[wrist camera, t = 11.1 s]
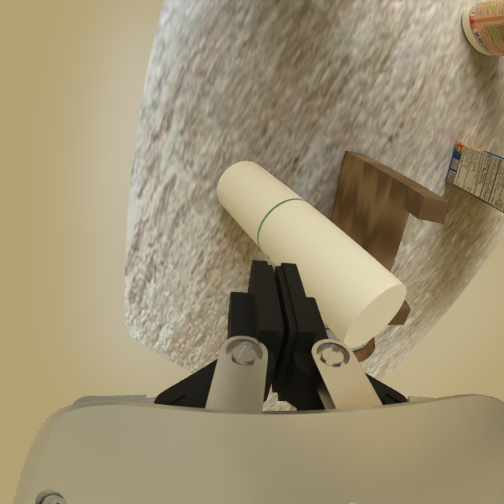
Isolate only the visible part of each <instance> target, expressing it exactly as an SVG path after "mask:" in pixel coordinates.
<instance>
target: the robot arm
mask: <svg viewBox="0 0 504 504" xmlns="http://www.w3.org/2000/svg"><path fill="white" fill-rule="evenodd" d="M271 384H272V391H273V392H277V393H278V401H287V402H288V403H290V404H291V405H292V406H291V411H262V409H263V403H264V402H265V401H266V400H267V397H268V393H269V390H270V386H271ZM13 504H504V402H503V401H501V400H499V399H497V398H494V397H490V396H485V395H477V394H468V395H467V394H466V395H455V396H447V397H441V398H427V397H413V396H409V397H408V399H406V398H405V397H404V396H403V395H402V394H400V393H399V392H397V391H395V390H394V389H392V388H390V387H388V386H387V385H385V384H383V383H381V382H380V381H378V380H376V379H375V378H373V377H371V376H370V375H368V374H366V373H365V372H364V371H363V369H362V367H361V365H360V364H359V362H358V360H357V358H356V357H355V355H354V353H353V352H352V350H351V349H350V348H349V347H348V346H347V345H345V344H344V343H342V342H340V341H337V340H333V339H328V335H327V332H326V329H325V326H324V323H323V320H322V317H321V314H320V311H319V308H318V305H317V302H316V300H315V298H314V297H306V294H305V290H304V287H303V284H302V281H301V278H300V274H299V271H298V268H297V265H296V264H294V263H281V265H280V266H276V267H275V271H274V272H273V266H272V265H268V263H267V261H258V260H253V261H252V266H251V273H250V280H249V287H248V293H242V292H231V295H230V304H229V314H228V337H227V340H226V341H225V342H224V343H223V344H222V346H221V349H220V353H219V357H218V359H217V360H215V361H213V362H212V363H210V364H209V365H207V366H205V367H204V368H202V369H200V370H199V371H197V372H195V373H194V374H192V375H190V376H189V377H187V378H185V379H184V380H182V381H180V382H179V383H177V384H175V385H173V386H172V387H170V388H168V389H166V390H165V391H163V392H162V393H160V394H159V395H158V396H157V397H154V398H146V395H127V396H86V397H82V398H80V399H78V400H76V401H75V402H74V404H73V405H70V406H67V407H64V408H61V409H59V410H57V411H56V412H54V413H53V414H52V415H50V416H49V417H48V418H47V420H46V421H45V422H44V423H43V425H42V426H41V428H40V430H39V431H38V433H37V435H36V437H35V439H34V441H33V443H32V446H31V448H30V450H29V452H28V455H27V457H26V460H25V463H24V467H23V469H22V472H21V475H20V479H19V482H18V486H17V489H16V493H15V497H14V501H13Z"/></svg>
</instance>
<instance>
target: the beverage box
mask: <svg viewBox="0 0 504 504" xmlns="http://www.w3.org/2000/svg"><path fill="white" fill-rule="evenodd" d="M446 181H447V182H449V183H451V184H453V185H455V186H457V187H459V188H460V189H462V190H464V191H466V192H468V193H470V194H471V195H473V196H475V197H477V198H478V199H480V200H482V201H484V202H485V203H487V204H489V205H491V206H492V207H494V208H496V209H497V210H499V211H501V212H502V213H504V158H502V157H500V156H497V155H495V154H492V153H489V152H486V151H483V150H481V149H478V148H475V147H472V146H469V145H466V144H463V143H460V142H457V141H456V143H455V147H454V151H453V155H452V159H451V163H450V166H449V170H448V174H447V177H446Z"/></svg>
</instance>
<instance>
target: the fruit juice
mask: <svg viewBox="0 0 504 504" xmlns="http://www.w3.org/2000/svg"><path fill="white" fill-rule="evenodd" d="M462 26H463V30H464V33H465V35H466V37H467V39H468V41H469V42H470V44H471V45H472V46H473V47H474V48H475V49H476V50H477V51H478V52H480V53H482V54H484V55H488V56H504V0H492V1H487V2H482V3H477V4H473V5H470V6H468V7H467V8H466V9H465V10H464V12H463V15H462Z"/></svg>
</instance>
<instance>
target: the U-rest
mask: <svg viewBox="0 0 504 504" xmlns="http://www.w3.org/2000/svg"><path fill="white" fill-rule="evenodd" d="M449 204H450V202H448V201H447V200H445V199H443V198H442V197H440V196H439V195H437V194H435V193H434V192H432V191H430V190H428V189H427V188H425V187H423V186H422V185H420V184H418V183H416V182H415V181H413V180H411V179H409V178H407V177H406V176H404V175H402V174H400V173H398V172H397V171H395V170H393V169H391V168H389V167H387V166H385V165H383V164H381V163H379V162H378V161H376V160H374V159H372V158H370V157H368V156H366V155H362V154H358V153H353V152H348V151H346V152H345V157H344V161H343V166H342V171H341V176H340V181H339V185H338V190H337V194H336V199H335V203H334V208H333V212H332V216H331V222H332V223H333V224H335V225H336V226H337V227H338V228H339V229H341V230H342V231H343V232H344V233H345V234H347V235H348V236H349V237H350V238H351V239H353V240H354V241H355V242H356V243H357V244H358V245H360V246H361V247H362V248H363V249H364V250H365V251H367V252H368V253H369V254H370V255H371V256H372V257H373V258H375V259H376V260H377V261H378V262H379V263H380V264H381V265H383V266H384V267H385V268H386V269H387V270H388V271H389V272H390V271H391V268H392V265H393V263H394V260H395V257H396V254H397V251H398V248H399V245H400V242H401V238H402V235H403V232H404V229H405V226H406V222H407V219H408V216H409V212H410V213H411V214H412V215H413V216H415V217H416V218H417V219H422V220H427V221H432V222H437V223H442V224H443V223H444V220H445V217H446V214H447V211H448V207H449ZM410 310H411V308H410V307H409V305H408V304H407V302H406V301H405V300H404V302H403V304H402V306H401V307H400V309H399V311H398V312H397V313H396V315H395V316H394V317H393V319H392V320H391V321H390V322H389V323H388V324H387V325H404V323H405V321H406V319H407V316H408V314H409V312H410Z"/></svg>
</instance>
